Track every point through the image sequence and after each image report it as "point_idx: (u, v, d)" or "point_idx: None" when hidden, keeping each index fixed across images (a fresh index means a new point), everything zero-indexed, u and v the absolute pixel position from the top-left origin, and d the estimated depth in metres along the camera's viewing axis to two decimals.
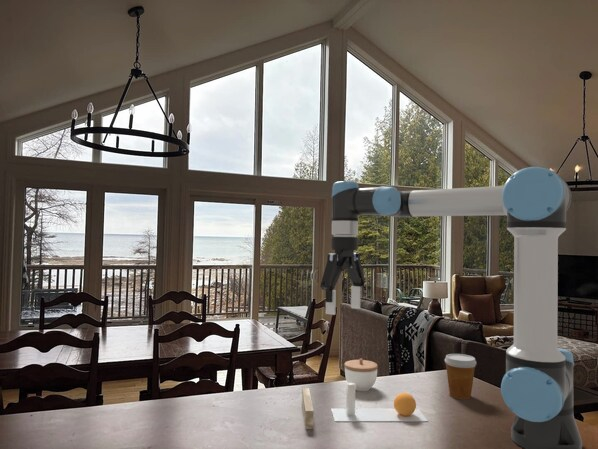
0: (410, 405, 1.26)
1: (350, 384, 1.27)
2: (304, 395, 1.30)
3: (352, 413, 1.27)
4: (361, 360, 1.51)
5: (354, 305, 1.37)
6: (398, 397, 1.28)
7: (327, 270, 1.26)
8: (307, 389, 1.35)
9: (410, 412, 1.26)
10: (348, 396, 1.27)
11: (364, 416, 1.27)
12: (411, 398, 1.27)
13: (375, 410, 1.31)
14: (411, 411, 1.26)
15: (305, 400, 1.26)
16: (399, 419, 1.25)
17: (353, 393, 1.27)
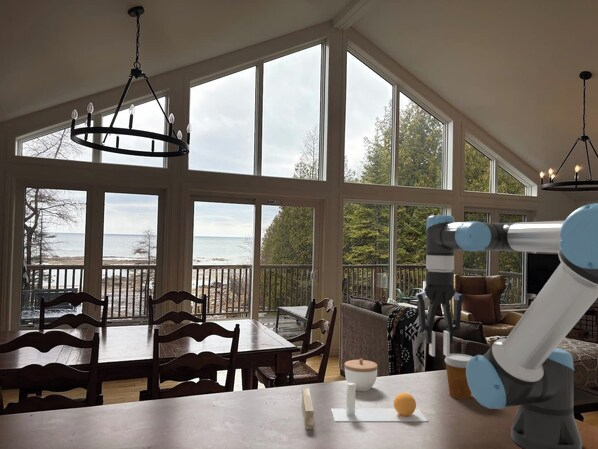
0: (410, 405, 1.26)
1: (350, 384, 1.27)
2: (304, 395, 1.30)
3: (352, 413, 1.27)
4: (361, 360, 1.51)
5: (444, 352, 1.30)
6: (398, 397, 1.28)
7: (419, 311, 1.30)
8: (307, 389, 1.35)
9: (410, 412, 1.26)
10: (348, 396, 1.27)
11: (364, 416, 1.27)
12: (411, 398, 1.27)
13: (375, 410, 1.31)
14: (411, 411, 1.26)
15: (305, 400, 1.26)
16: (399, 419, 1.25)
17: (353, 393, 1.27)
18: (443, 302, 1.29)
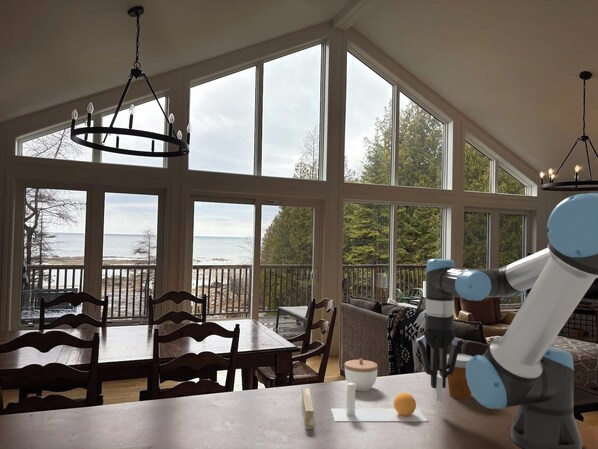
0: (410, 405, 1.26)
1: (350, 384, 1.27)
2: (304, 395, 1.30)
3: (352, 413, 1.27)
4: (361, 360, 1.51)
5: None
6: (398, 397, 1.28)
7: (421, 356, 1.30)
8: (307, 389, 1.35)
9: (410, 412, 1.26)
10: (348, 396, 1.27)
11: (364, 416, 1.27)
12: (411, 398, 1.27)
13: (375, 410, 1.31)
14: (411, 411, 1.26)
15: (305, 400, 1.26)
16: (399, 419, 1.25)
17: (353, 393, 1.27)
18: (441, 346, 1.29)
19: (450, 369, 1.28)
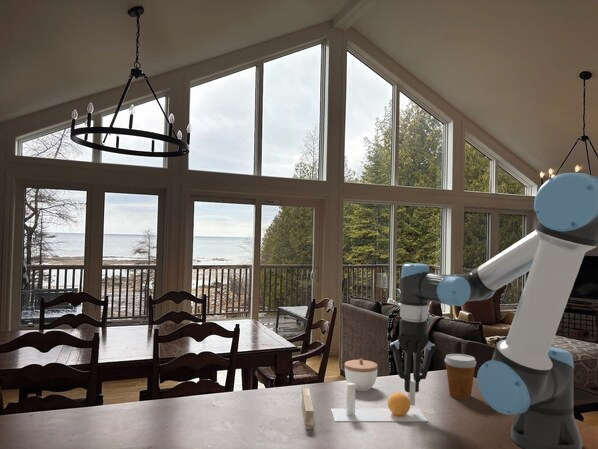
0: (403, 404, 1.26)
1: (350, 384, 1.27)
2: (304, 395, 1.30)
3: (352, 413, 1.27)
4: (361, 360, 1.51)
5: None
6: (390, 400, 1.28)
7: (395, 360, 1.30)
8: (307, 389, 1.35)
9: (406, 410, 1.26)
10: (348, 396, 1.27)
11: (364, 416, 1.27)
12: (402, 396, 1.27)
13: (375, 410, 1.31)
14: (406, 409, 1.26)
15: (305, 400, 1.26)
16: (399, 419, 1.25)
17: (353, 393, 1.27)
18: (414, 350, 1.29)
19: (423, 374, 1.29)
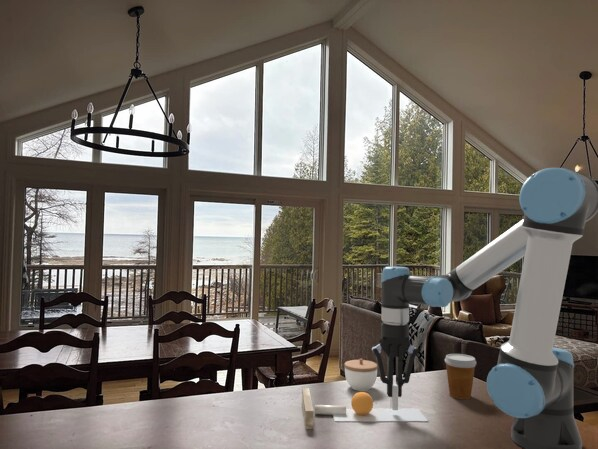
0: (362, 409, 1.26)
1: (315, 410, 1.28)
2: (304, 395, 1.30)
3: (342, 408, 1.27)
4: (361, 360, 1.51)
5: None
6: (372, 407, 1.28)
7: (377, 365, 1.29)
8: (307, 389, 1.35)
9: (358, 403, 1.26)
10: (326, 413, 1.27)
11: (364, 416, 1.27)
12: (362, 414, 1.27)
13: (375, 410, 1.31)
14: (358, 404, 1.26)
15: (305, 400, 1.26)
16: (399, 419, 1.25)
17: (323, 407, 1.28)
18: (396, 354, 1.28)
19: (406, 378, 1.28)
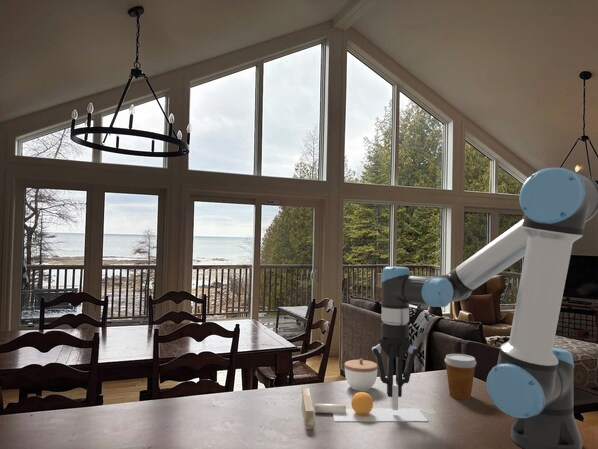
0: (362, 409, 1.26)
1: (315, 406, 1.29)
2: (304, 395, 1.30)
3: (342, 404, 1.29)
4: (361, 360, 1.51)
5: None
6: (372, 407, 1.28)
7: (377, 365, 1.29)
8: (307, 389, 1.35)
9: (358, 403, 1.26)
10: (326, 407, 1.29)
11: (364, 416, 1.27)
12: (362, 414, 1.27)
13: (375, 410, 1.31)
14: (358, 404, 1.26)
15: (305, 400, 1.26)
16: (399, 419, 1.25)
17: None
18: (396, 354, 1.28)
19: (406, 378, 1.28)
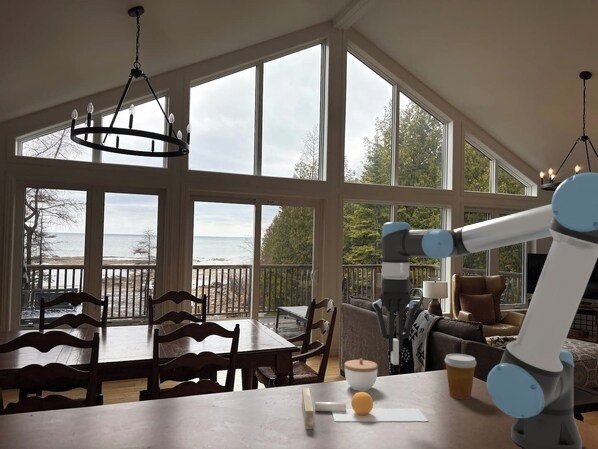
0: (362, 409, 1.26)
1: (315, 403, 1.31)
2: (304, 395, 1.30)
3: None
4: (361, 360, 1.51)
5: None
6: (372, 407, 1.28)
7: (378, 320, 1.29)
8: (307, 389, 1.35)
9: (358, 403, 1.26)
10: (326, 402, 1.31)
11: (364, 416, 1.27)
12: (362, 414, 1.27)
13: (375, 410, 1.31)
14: (358, 404, 1.26)
15: (305, 400, 1.26)
16: (399, 419, 1.25)
17: None
18: (397, 309, 1.28)
19: (406, 332, 1.28)
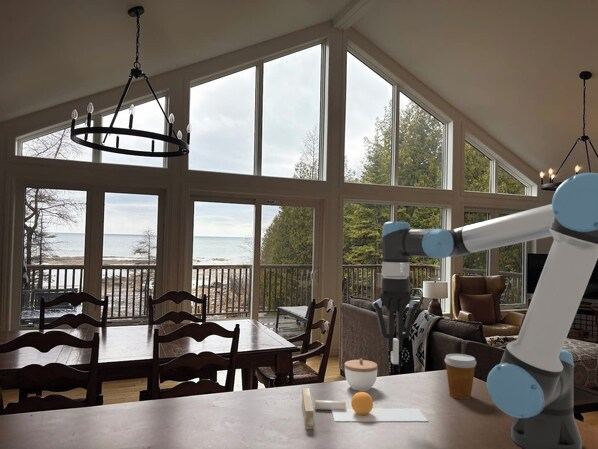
0: (362, 409, 1.26)
1: None
2: (304, 395, 1.30)
3: None
4: (361, 360, 1.51)
5: None
6: (372, 407, 1.28)
7: (378, 319, 1.29)
8: (307, 389, 1.35)
9: (358, 403, 1.26)
10: None
11: (364, 416, 1.27)
12: (362, 414, 1.27)
13: (375, 410, 1.31)
14: (358, 404, 1.26)
15: (305, 400, 1.26)
16: (399, 419, 1.25)
17: None
18: (397, 308, 1.28)
19: (406, 332, 1.28)
